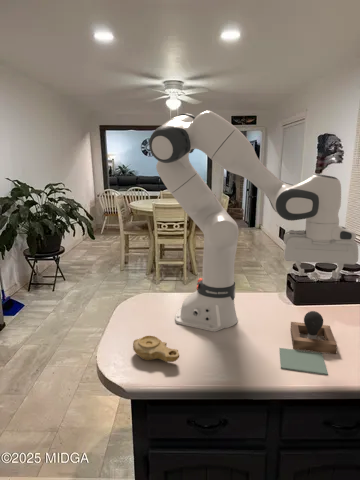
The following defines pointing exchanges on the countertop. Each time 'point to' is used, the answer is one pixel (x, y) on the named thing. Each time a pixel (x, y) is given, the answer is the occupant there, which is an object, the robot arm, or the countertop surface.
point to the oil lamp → (154, 349)
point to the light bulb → (313, 323)
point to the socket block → (313, 344)
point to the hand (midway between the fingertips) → (317, 276)
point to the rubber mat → (302, 361)
